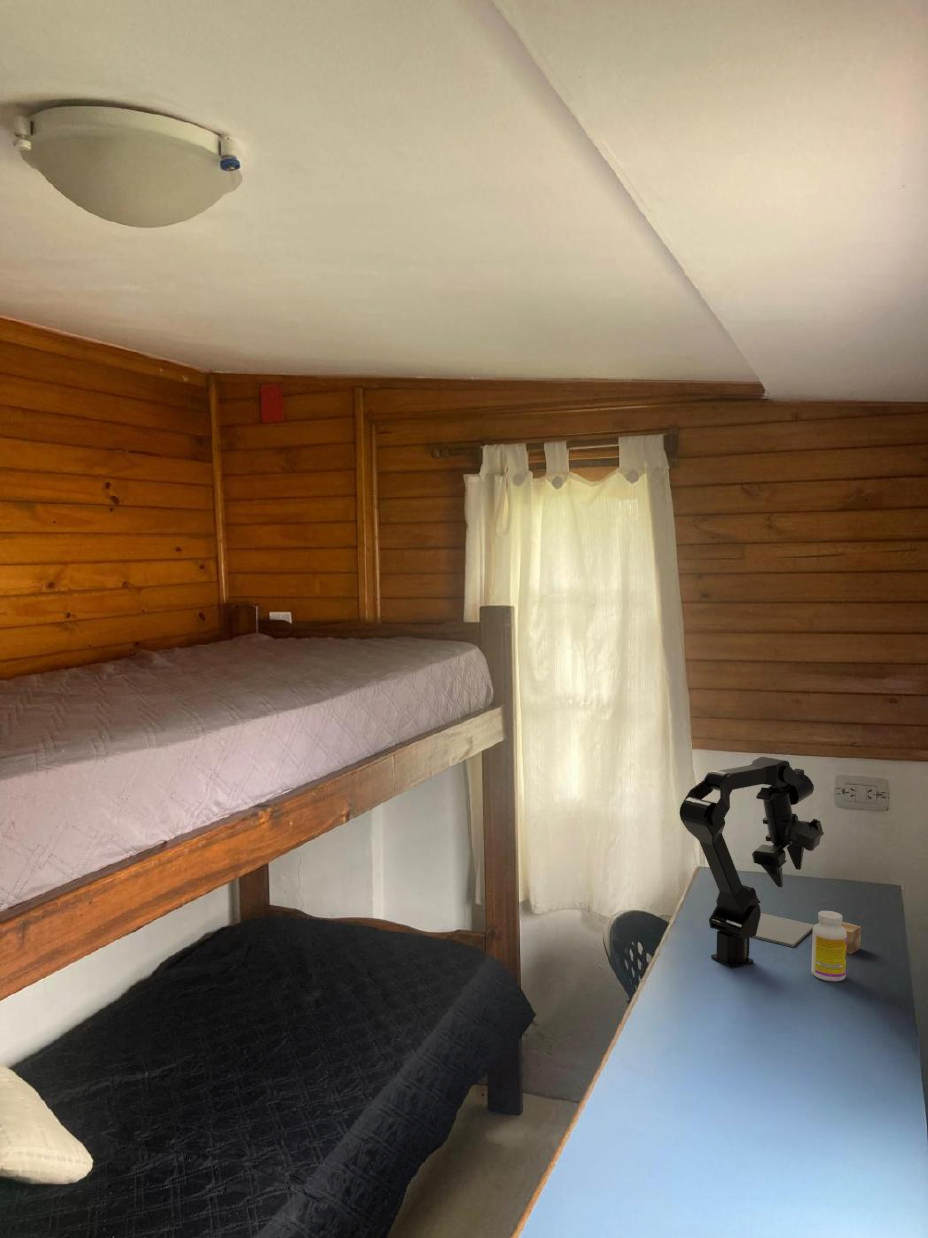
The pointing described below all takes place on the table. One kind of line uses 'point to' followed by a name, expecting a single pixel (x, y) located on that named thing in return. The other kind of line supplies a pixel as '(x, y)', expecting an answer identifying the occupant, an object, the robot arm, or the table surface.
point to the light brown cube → (852, 937)
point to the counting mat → (781, 930)
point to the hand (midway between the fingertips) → (789, 878)
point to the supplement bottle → (829, 947)
